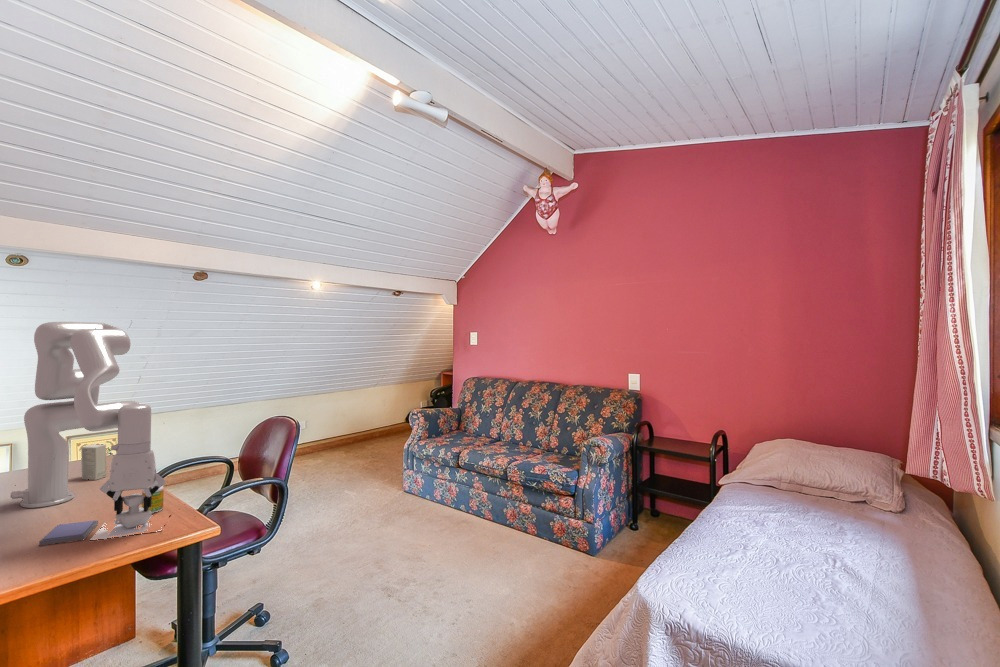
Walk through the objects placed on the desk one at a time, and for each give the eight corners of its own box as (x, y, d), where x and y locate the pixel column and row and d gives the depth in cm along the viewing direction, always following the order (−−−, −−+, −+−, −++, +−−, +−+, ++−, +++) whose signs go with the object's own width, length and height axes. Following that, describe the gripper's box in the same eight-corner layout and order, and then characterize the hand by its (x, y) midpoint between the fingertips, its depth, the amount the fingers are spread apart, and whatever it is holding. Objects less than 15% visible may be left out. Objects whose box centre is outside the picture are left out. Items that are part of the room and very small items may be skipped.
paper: (89, 541, 126) (89, 540, 126) (106, 521, 139) (106, 520, 139) (161, 531, 133) (161, 530, 133) (171, 513, 146) (172, 513, 146)
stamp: (118, 533, 130) (119, 503, 130) (109, 527, 134) (110, 497, 134) (156, 523, 138) (157, 494, 138) (146, 517, 142) (147, 489, 142)
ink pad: (39, 546, 123) (39, 540, 123) (57, 529, 133) (57, 524, 133) (83, 540, 127) (83, 534, 127) (98, 524, 137) (98, 519, 137)
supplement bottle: (151, 515, 145) (152, 483, 144) (137, 513, 146) (137, 481, 146) (167, 508, 150) (168, 477, 150) (153, 507, 151) (153, 476, 151)
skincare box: (106, 476, 180) (107, 444, 180) (95, 480, 175) (95, 447, 175) (91, 475, 181) (92, 443, 180) (80, 479, 176) (80, 446, 176)
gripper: (91, 454, 129) (90, 520, 129) (167, 448, 136) (166, 511, 136) (100, 447, 136) (99, 510, 136) (173, 442, 143) (171, 503, 143)
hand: (133, 510), depth 136 cm, fingers closed on stamp, 5 cm apart
